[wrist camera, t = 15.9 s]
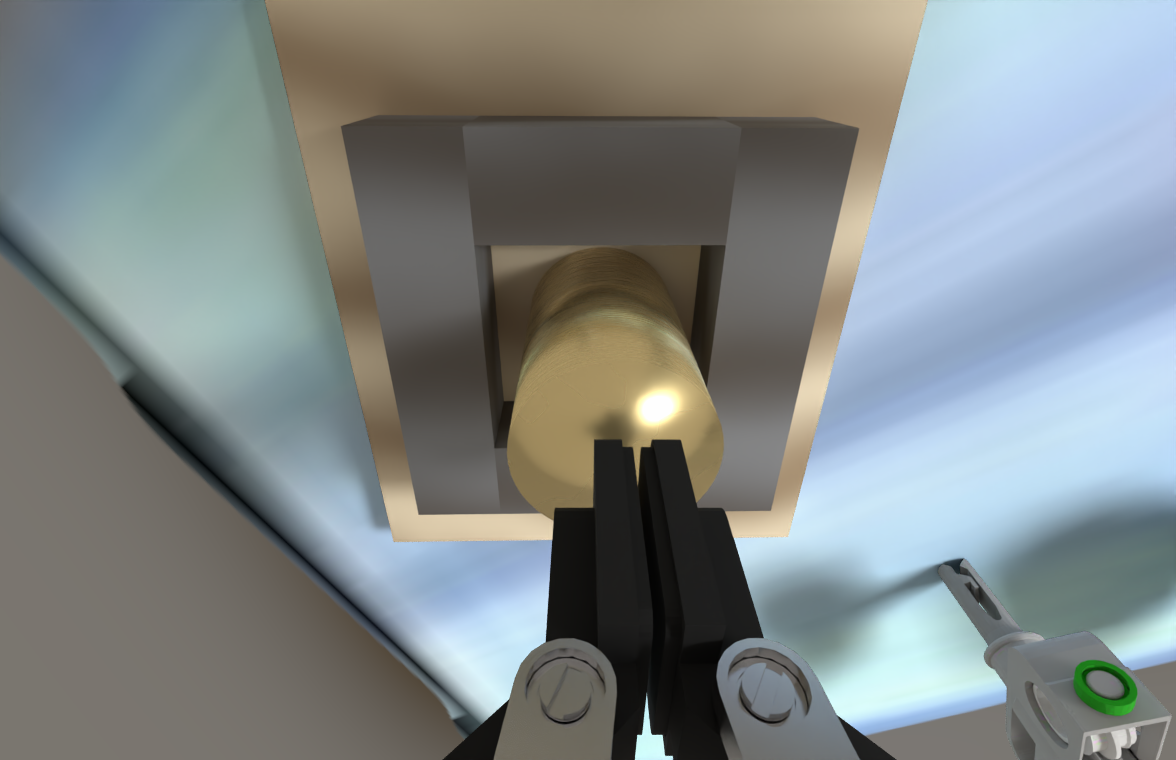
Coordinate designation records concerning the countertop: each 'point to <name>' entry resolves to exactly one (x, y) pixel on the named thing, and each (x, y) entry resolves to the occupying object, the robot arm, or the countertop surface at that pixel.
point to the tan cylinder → (605, 379)
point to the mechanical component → (1061, 686)
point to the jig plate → (584, 79)
